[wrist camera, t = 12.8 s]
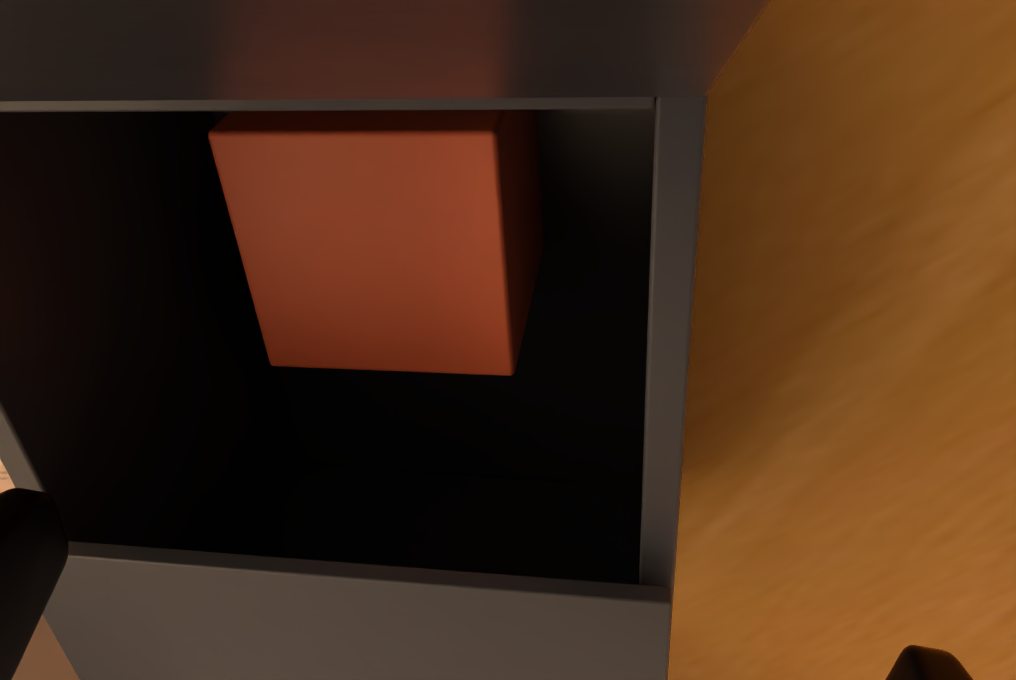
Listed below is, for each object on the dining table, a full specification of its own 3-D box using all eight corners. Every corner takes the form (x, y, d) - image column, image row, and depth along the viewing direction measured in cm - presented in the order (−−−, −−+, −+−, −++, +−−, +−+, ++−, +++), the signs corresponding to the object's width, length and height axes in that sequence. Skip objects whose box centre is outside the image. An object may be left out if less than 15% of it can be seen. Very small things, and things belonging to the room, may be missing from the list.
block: (342, 245, 20) (269, 368, 16) (302, 40, 17) (204, 132, 14) (544, 248, 19) (514, 378, 15) (534, 35, 16) (496, 131, 13)
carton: (149, -83, 17) (-261, 94, 9) (693, -105, 15) (713, 85, 8) (297, 464, 25) (140, 790, 17) (661, 486, 23) (657, 853, 16)
